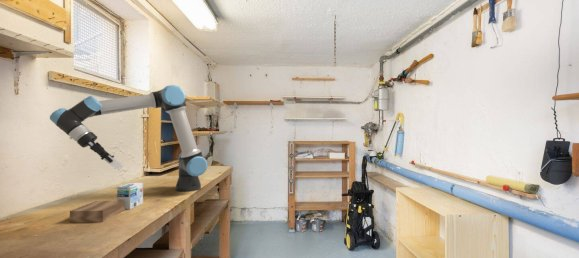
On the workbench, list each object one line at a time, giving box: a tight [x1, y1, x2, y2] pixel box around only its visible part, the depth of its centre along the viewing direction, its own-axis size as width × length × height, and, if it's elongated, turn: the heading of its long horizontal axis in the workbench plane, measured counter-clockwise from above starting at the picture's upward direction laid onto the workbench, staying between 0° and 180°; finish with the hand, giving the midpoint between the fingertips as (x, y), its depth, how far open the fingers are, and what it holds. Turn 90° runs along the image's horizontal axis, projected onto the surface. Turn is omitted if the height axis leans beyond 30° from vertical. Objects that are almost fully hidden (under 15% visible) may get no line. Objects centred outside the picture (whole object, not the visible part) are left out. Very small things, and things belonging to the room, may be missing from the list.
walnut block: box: [69, 200, 126, 223], centre depth 114 cm, size 13×15×5 cm
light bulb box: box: [116, 182, 144, 210], centre depth 128 cm, size 11×7×11 cm, turn 179°
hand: (119, 167), depth 128 cm, fingers open, 13 cm apart
